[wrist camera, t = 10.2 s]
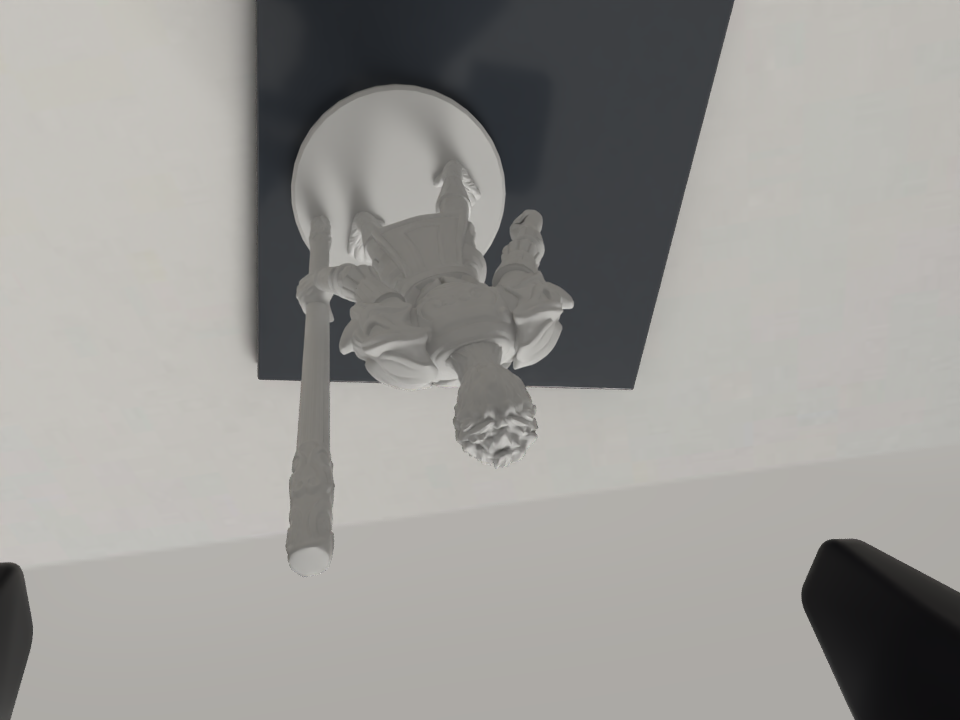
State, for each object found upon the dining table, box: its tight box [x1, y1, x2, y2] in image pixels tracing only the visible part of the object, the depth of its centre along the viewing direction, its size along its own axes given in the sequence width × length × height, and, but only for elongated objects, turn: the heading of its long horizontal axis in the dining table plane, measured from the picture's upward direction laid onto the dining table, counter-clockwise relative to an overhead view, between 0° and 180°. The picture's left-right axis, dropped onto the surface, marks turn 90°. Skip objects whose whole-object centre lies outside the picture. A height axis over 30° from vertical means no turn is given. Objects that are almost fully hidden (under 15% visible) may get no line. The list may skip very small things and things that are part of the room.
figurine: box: [286, 84, 574, 577], centre depth 13 cm, size 5×5×12 cm
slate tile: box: [256, 0, 734, 390], centre depth 19 cm, size 11×11×1 cm
